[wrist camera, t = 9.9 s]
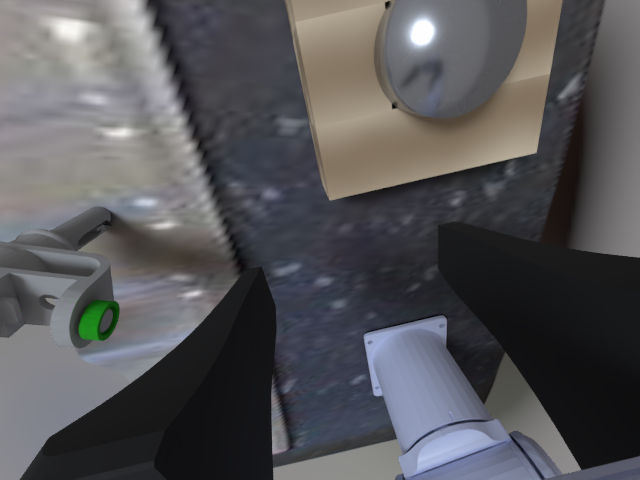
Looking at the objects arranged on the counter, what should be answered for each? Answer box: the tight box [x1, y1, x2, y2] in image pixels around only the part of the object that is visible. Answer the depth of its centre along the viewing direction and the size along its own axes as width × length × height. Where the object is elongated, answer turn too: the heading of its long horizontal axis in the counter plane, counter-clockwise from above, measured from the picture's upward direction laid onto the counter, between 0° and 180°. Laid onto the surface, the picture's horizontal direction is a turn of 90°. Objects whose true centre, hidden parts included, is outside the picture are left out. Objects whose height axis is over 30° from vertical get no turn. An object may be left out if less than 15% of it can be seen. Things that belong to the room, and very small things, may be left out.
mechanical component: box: [0, 207, 119, 348], centre depth 14 cm, size 3×10×10 cm, turn 77°
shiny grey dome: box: [374, 0, 527, 118], centre depth 13 cm, size 6×6×6 cm
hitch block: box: [285, 0, 563, 200], centre depth 14 cm, size 12×12×4 cm
